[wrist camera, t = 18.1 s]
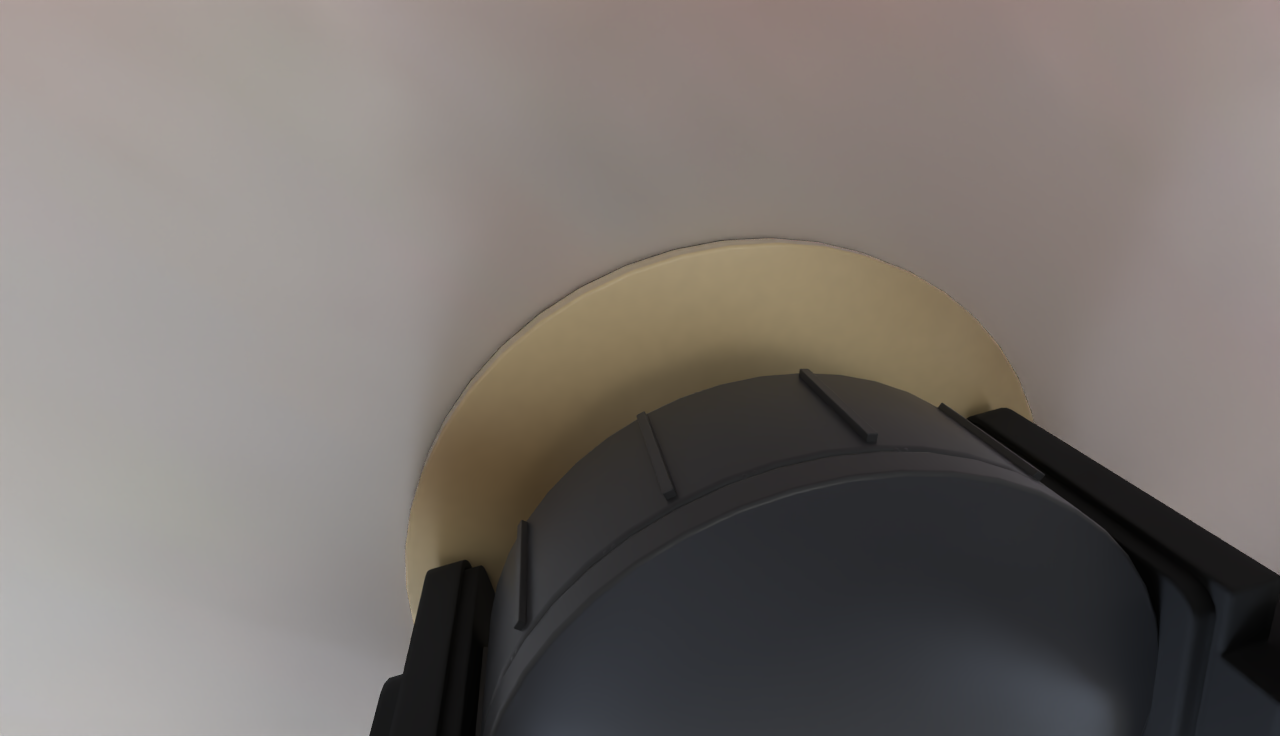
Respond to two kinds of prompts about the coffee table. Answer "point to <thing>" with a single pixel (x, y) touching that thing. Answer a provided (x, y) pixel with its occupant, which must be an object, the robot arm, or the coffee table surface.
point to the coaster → (680, 372)
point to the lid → (813, 581)
